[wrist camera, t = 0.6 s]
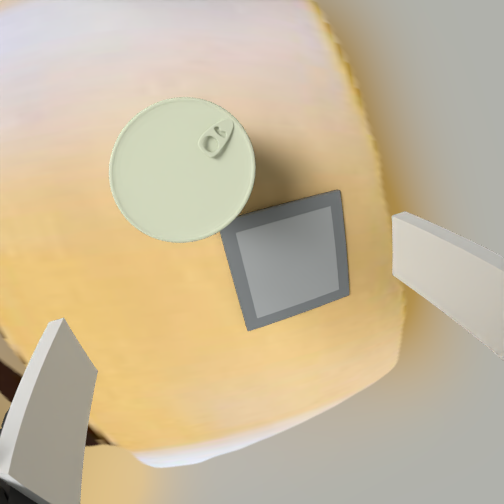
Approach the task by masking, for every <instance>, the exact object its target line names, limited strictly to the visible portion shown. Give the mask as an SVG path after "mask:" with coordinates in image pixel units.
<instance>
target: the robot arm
mask: <svg viewBox="0 0 504 504" xmlns="http://www.w3.org/2000/svg"><path fill="white" fill-rule="evenodd" d="M392 238H393V271H392V275H393V276H395V277H396V278H398V279H399V280H400V281H402V282H403V283H405V284H406V285H407V286H409V287H410V288H411V289H413V290H414V291H416V292H417V293H418V294H420V295H421V296H423V297H424V298H425V299H426V300H428V301H429V302H431V303H432V304H433V305H435V306H436V307H437V308H439V309H440V310H441V311H442V312H444V313H445V314H446V315H448V316H449V317H450V318H451V319H453V320H454V321H455V322H457V323H458V324H459V325H460V326H462V327H463V328H464V329H465V330H467V331H468V332H469V333H471V334H472V335H473V336H474V337H476V338H477V339H478V340H479V341H480V342H482V343H483V344H484V345H485V346H487V347H488V348H489V349H490V350H491V351H493V352H494V353H495V354H496V355H497V356H498V357H500V358H501V359H502V360H503V361H504V257H503V256H501V255H499V254H497V253H495V252H493V251H491V250H489V249H487V248H485V247H483V246H481V245H479V244H477V243H475V242H473V241H471V240H469V239H467V238H465V237H463V236H461V235H459V234H456V233H454V232H452V231H450V230H448V229H445V228H443V227H441V226H439V225H436V224H434V223H432V222H430V221H427V220H425V219H423V218H420V217H418V216H415V215H413V214H411V213H408V212H406V211H405V212H402V213H399V214H395V215H393V216H392ZM97 373H98V371H97V369H96V368H95V366H94V365H93V363H92V362H91V360H90V359H89V357H88V356H87V354H86V353H85V351H84V350H83V348H82V347H81V345H80V344H79V342H78V340H77V339H76V337H75V336H74V334H73V332H72V331H71V329H70V327H69V326H68V324H67V322H66V320H65V319H64V318H61V319H58V320H55V321H51V322H49V323H48V325H47V327H46V329H45V331H44V333H43V335H42V337H41V339H40V341H39V343H38V345H37V347H36V349H35V351H34V353H33V355H32V357H31V359H30V361H29V364H28V366H27V368H26V370H25V373H24V375H23V377H22V379H21V382H20V384H19V386H18V389H17V391H16V394H15V396H14V399H13V401H12V404H11V407H10V408H9V410H8V411H7V413H6V414H5V417H4V420H3V423H2V429H0V504H80V497H81V496H80V495H81V481H82V480H81V479H82V468H83V458H84V449H85V442H86V434H87V427H88V421H89V415H90V409H91V403H92V398H93V392H94V387H95V382H96V377H97Z"/></svg>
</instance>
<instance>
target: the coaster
mask: <svg viewBox="0 0 504 504" xmlns="http://www.w3.org/2000/svg"><path fill="white" fill-rule="evenodd" d="M220 234H221V238H222V242H223V245H224V249H225V253H226V256H227V260H228V264H229V267H230V271H231V274H232V278H233V282H234V285H235V289H236V292H237V296H238V299H239V303H240V306H241V310H242V313H243V317H244V320H245V324H246V327H247V330H248V331H251V330H254V329H257V328H260V327H263V326H266V325H269V324H272V323H275V322H277V321H280V320H283V319H286V318H289V317H292V316H295V315H297V314H300V313H303V312H306V311H308V310H311V309H314V308H317V307H319V306H322V305H325V304H327V303H330V302H332V301H335V300H338V299H340V298H343V297H345V296H348V295H349V280H348V265H347V252H346V240H345V230H344V220H343V211H342V203H341V195H340V190H334V191H330V192H326V193H322V194H318V195H314V196H310V197H306V198H302V199H298V200H295V201H291V202H287V203H283V204H280V205H276V206H272V207H268V208H265V209H261V210H257V211H254V212H250V213H247V214H243V215H240V216H237V217H236V218H235V219H234V220H233V221H232V222H231V223H230V224H229V225H228V226H226V227H225V228H224V229H222V230H221V231H220Z"/></svg>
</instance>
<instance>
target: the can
mask: <svg viewBox="0 0 504 504" xmlns="http://www.w3.org/2000/svg"><path fill="white" fill-rule="evenodd" d="M255 170H256V163H255V155H254V150H253V147H252V144H251V141H250V139H249V137H248V135H247V133H246V131H245V129H244V128H243V126H242V125H241V124H240V123H239V121H238V120H237V119H236V118H235V117H234V116H233V115H231V114H230V113H229V112H228V111H226V110H225V109H224V108H222V107H220V106H218V105H216V104H214V103H212V102H209V101H206V100H203V99H198V98H191V97H179V98H171V99H167V100H163V101H160V102H157V103H155V104H153V105H151V106H149V107H147V108H145V109H144V110H142V111H141V112H139V113H138V114H137V115H136V116H134V117H133V118H132V119H131V120H130V121H129V122H128V124H127V125H126V126H125V127H124V128H123V130H122V131H121V133H120V134H119V136H118V138H117V140H116V142H115V145H114V147H113V150H112V154H111V158H110V164H109V180H110V187H111V191H112V195H113V197H114V200H115V202H116V204H117V206H118V208H119V210H120V211H121V213H122V214H123V215H124V217H125V218H126V219H127V220H128V221H129V222H130V223H131V224H132V225H133V226H134V227H135V228H137V229H138V230H140V231H141V232H143V233H144V234H146V235H148V236H150V237H153V238H155V239H158V240H162V241H167V242H175V243H185V242H193V241H197V240H201V239H204V238H207V237H209V236H212V235H214V234H216V233H217V232H219V231H221V230H222V229H224V228H225V227H226V226H228V225H229V224H230V223H231V222H232V221H233V220H234V219H235V218H236V217H237V216H238V215H239V213H240V212H241V211H242V209H243V208H244V206H245V205H246V203H247V201H248V199H249V197H250V194H251V191H252V189H253V185H254V180H255Z"/></svg>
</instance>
